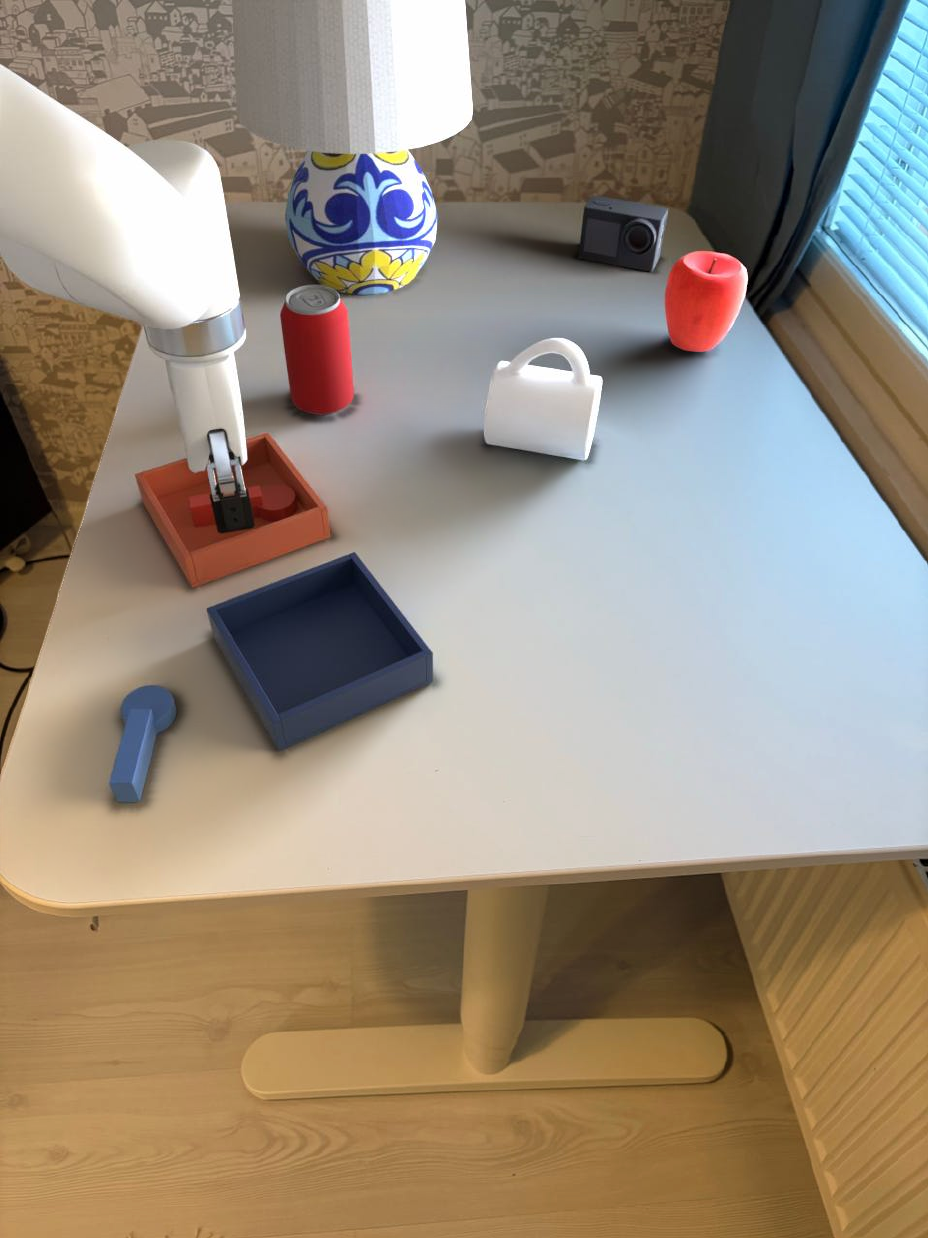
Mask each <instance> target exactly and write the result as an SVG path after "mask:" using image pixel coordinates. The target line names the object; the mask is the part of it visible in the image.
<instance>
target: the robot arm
mask: <svg viewBox="0 0 928 1238" xmlns="http://www.w3.org/2000/svg"><path fill="white" fill-rule="evenodd" d="M221 179H222V178H221V173H220V169H219V166H218V164H217V162H216V160H215V159H214V157H213V156H212V155H211V153H209V152H208V151H207V150H206V149H205V148H203V147H202V146H199V145H198V144H195V143H192V142H189V141H185V140H178V139H153V140H145V141H141V142H137V143H134V144H131V145H128V146H125V144H123V143H121V141H119V140H117V139H116V138H114V137H113V136H112V135H110V134H109V133H107V132H105V131H104V130H103V129H101V128H99V127H98V126H97V125H95V124H93V123H92V122H91V121H89V120H88V119H86V118H85V117H82V116H81V115H80V114H78V113H76V112H75V111H73V110H72V109H69V108H68V107H66V106H65V105H64V104H62V103H60V102H58V101H57V100H56V99H54V98H52V97H51V96H50V95H48V94H46V93H45V92H43V91H42V90H40V89H39V88H37V87H35V85H33V84H31V83H30V82H29V81H27V80H26V79H24V78H23V77H21V76H20V75H18V74H17V73H15V72H14V71H12V70H11V69H9V68H8V67H6V66H4V65H3V64H1V63H0V258H1V259H2V261H3V263H5V265H6V267H7V268H8V269H9V271H10V272H11V273H12V274H13V275H14V276H15V277H16V278H18V279H19V280H20V281H21V282H23V283H24V284H26V285H27V286H28V287H30V288H32V289H34V290H36V291H39V292H41V293H43V294H45V295H48V296H51V297H55V298H58V299H61V300H64V301H67V302H70V303H73V304H75V305H76V304H77V305H79V306H82V307H85V308H91V309H95V310H97V311H101V312H104V313H107V314H110V315H114V316H116V317H119V318H123V319H126V320H127V321H128V320H129V321H131V322H134V323H137V324H141V325H142V326H143V330H144V334H145V337H146V342H147V346H148V348H149V350H150V351H151V352H152V353H153V354H154V355H155V356H157V357H159V358H161V359H163V360H164V362H165V368H166V373H167V377H168V383H169V387H170V391H171V395H172V396H171V397H172V400H173V405H174V409H175V413H176V417H177V421H178V426H179V429H180V435H181V439H182V443H183V447H184V452H185V456H186V457H185V458H187V461H188V466H189V469H190V470H191V471H192V472H194V473H197V472H201V471H205V468H206V469H207V472H208V477H209V482H210V487H211V492H212V494H209V495H210V500H211V504H212V509H213V513H214V518H215V522H216V526H217V531H218V532H219V533H228V532H234V531H240V530H245V529H251V528H253V527H254V526H255V523H254V518H253V513H252V507H251V502H250V496H249V491H248V488H247V489H245V486H244V481H243V476H242V471H241V466H240V464H241V465H242V466H243V465H244V464H245V462H246V461H247V450H246V439H247V438H246V430H245V429H246V427H245V421H244V411H243V404H242V396H241V390H240V383H239V378H238V377H239V376H238V369H237V364H236V358H235V352H236V351H237V350H239V349H240V348H241V346H243V344H244V342H245V340H246V338H247V332H246V331H247V330H246V325H245V324H246V323H245V319H244V312H243V306H242V300H241V295H240V289H239V282H238V277H237V270H236V269H237V268H236V264H235V258H234V250H233V245H232V240H231V239H232V238H231V232H230V227H229V226H230V225H229V220H228V214H227V207H226V203H225V201H226V200H225V195H224V190H223V184H222V180H221ZM232 467H234V468H235V473H236V478H237V480H235V481H234V478H233V473H232ZM214 470H216V472H217V477H218V482H219V483H216V479H215V474H214Z"/></svg>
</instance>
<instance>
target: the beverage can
mask: <svg viewBox="0 0 928 1238" xmlns="http://www.w3.org/2000/svg"><path fill="white" fill-rule="evenodd" d="M340 296H341V295H340V294H339V292H338V291H336V290H334V289H332V288H330V287H327V286H323V285H322V284H306V285H301V286H298V287H295V288H293V289H291V290H290V291H288V293H286V295H285V298H284V302H283V306H282V308H281V309H280V314H279V315H280V316H279V317H280V327H281V333H282V342H283V349H284V357H285V364H286V371H287V378H288V385H289V391H290V399H291V401H292V403H293V404H294V406H295V407H296V408H298V409H299V410H301V411H303V412H306V413H310V414H312V415H317V416H319V415H320V416H322V415H323V416H324V415H330V414H331V415H332V414H334V413H337V412H339V411H342V410H343V409H344V408H346V407H347V406H349V405H350V404H351V403H352V401H353V399H354V396H355V393H354V392H355V390H354V375H353V360H352V359H353V358H352V346H351V334H350V322H349V321H350V320H349V311H348V308H347V307H346V305H345V304H344V302H343V301H342V299H341V297H340Z"/></svg>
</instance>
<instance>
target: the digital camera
mask: <svg viewBox="0 0 928 1238" xmlns="http://www.w3.org/2000/svg"><path fill="white" fill-rule="evenodd" d="M668 213H669V207H663V206H658V205H653V204H647V203H641V202H635V201H630V200H624V199H618V198H611V197H606V196H600V195H594V194H592V195H591V196H590V198H589V199H588V201H587V202H586V204H585V205H584V208H583V214H582V223H581V230H580V231H581V232H580V240H579V248H578V258H579V259H583V260H588V261H593V262H598V263H603V264H608V265H613V266H619V267H624V268H630V269H635V270H639V271H640V270H641V271H646V272H652V273H653V272H654V269H655V267H656V266H657V264H658V263H659V260H660V256H661V250H662V246H663V245H662V244H663V240H664V235H665V229H666V225H667V219H668Z"/></svg>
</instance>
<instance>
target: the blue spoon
mask: <svg viewBox="0 0 928 1238" xmlns="http://www.w3.org/2000/svg"><path fill="white" fill-rule="evenodd" d="M120 713H121V716H122V719H123V721H124V724H125V725H124V728H123V732H122V735H121V738H120V743H119V746H118V749H117V753H116V757H115V761H114V764H113V768H112V771H111V774H110V778H109V782H108V785H109V787H110V789H111V791H112V793H113V795H114V797H115V799H116V801H117V803H140V802H141V799H142V795H143V791H144V789H145V783H146V779H147V776H148V771H149V767H150V764H151V760H152V755H153V752H154V748H155V743H156V740H157V739H156V738H157V736H158V734H159V733H163V732H164V731H166V730H167V729H168V728H169V727H171V725H172V724H173V722H174V721H175V719H176V718H177V717H176V716H177V706H176V703H175V700H174V697H173V695H172V693H171V692H170V690H168V689H167V688H166V687H164V686H161V685H156V684H147V685H142V686H139V687H137V688H134V689H133V690H132V691H130V692H129V693H128V694H127V695H126V696H125V697H124V699H123V700H122V703H121V705H120Z"/></svg>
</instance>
